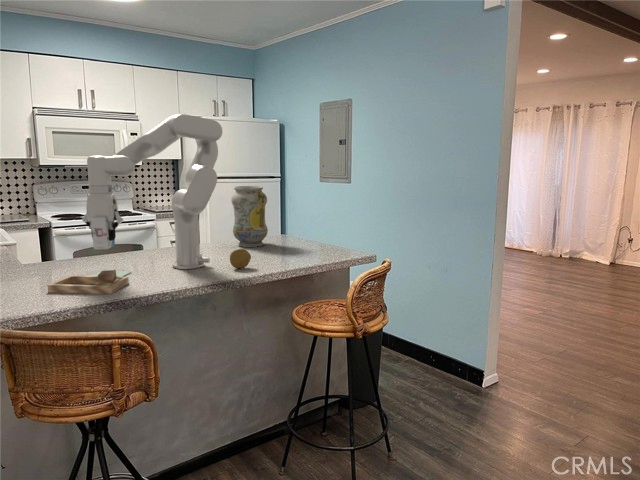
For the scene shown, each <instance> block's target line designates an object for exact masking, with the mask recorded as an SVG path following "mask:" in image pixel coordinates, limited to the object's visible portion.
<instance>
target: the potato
mask: <svg viewBox="0 0 640 480" xmlns="http://www.w3.org/2000/svg"><path fill="white" fill-rule="evenodd" d="M251 259H252V256H251V254H250V252H249V251H248V250H246V248H245V249H244V248H237V249H235V250H233V251H232V252H231V253H230V254H229V262H230V265H231V266H232V267H233V268H234V269H236V268H243V269H245V268H247V266H248V265H249V264H250V261H251Z"/></svg>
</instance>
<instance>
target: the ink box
mask: <svg viewBox="0 0 640 480" xmlns="http://www.w3.org/2000/svg"><path fill="white" fill-rule="evenodd" d="M91 224H92V232H91V236H92V235H93V238H92V244H93V250H108V249H110V248H112V247H114V246H116V242H115V241H116V239H115V240H112V241H110V240H109V233H108V230H110V228H109V226H108V222H107V219H106V217H92V218H91Z"/></svg>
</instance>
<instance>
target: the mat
mask: <svg viewBox="0 0 640 480" xmlns="http://www.w3.org/2000/svg"><path fill="white" fill-rule="evenodd" d="M101 271H102V270H101ZM101 271H99V272H98V271H97V272H96V273H93V274H92V275H90V276H98V274H99V273H100V272H101ZM131 273H132V271H124V270H123V271H121V270H116V277H127V276H128V275H129V274H131Z"/></svg>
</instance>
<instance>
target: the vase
mask: <svg viewBox="0 0 640 480" xmlns="http://www.w3.org/2000/svg"><path fill="white" fill-rule="evenodd" d="M263 188H264V187H263V186H262V185H261V186H260V185H241V186H240V185H239V186H234V187H233V189H234V191H235V192H234V193H233V194H232V196H231V204H232V206H233V214H234V215H233V217H234V225H233V229H232V234H233V236H234V238H235V239H237V240H238V241H239V242H238V244H237V245H238V246H239V247H242V248H257V246H258V247H262V246H263V245H264V243H263V241H264V240H265V238H266V237H267V236H268V230H269V229H268V226H267V224H266V204H267V202H268V196H267V195H266V193H264V192H263Z"/></svg>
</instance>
